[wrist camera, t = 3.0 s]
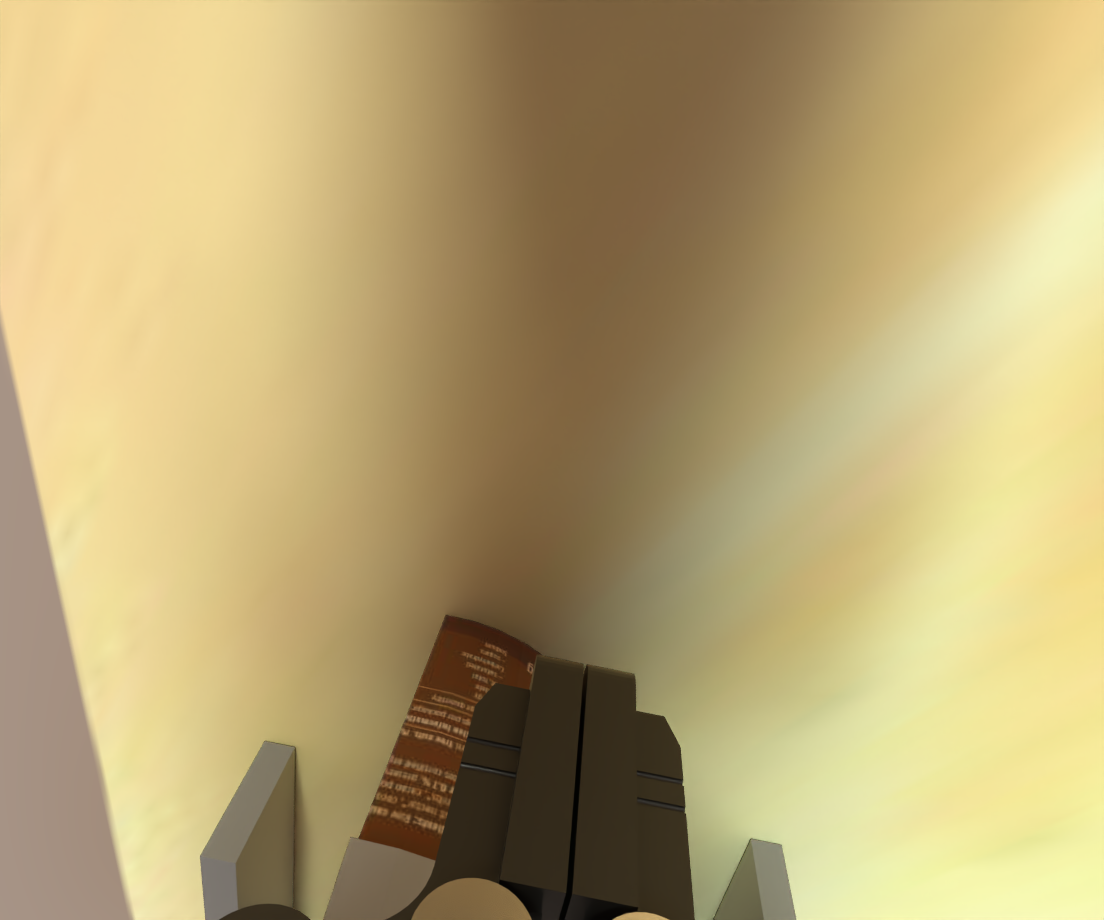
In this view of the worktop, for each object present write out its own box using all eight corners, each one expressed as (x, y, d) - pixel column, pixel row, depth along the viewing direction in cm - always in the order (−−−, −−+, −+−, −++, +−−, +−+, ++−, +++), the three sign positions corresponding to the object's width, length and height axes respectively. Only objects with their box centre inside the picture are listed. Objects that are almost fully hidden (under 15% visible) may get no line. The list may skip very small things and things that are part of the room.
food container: (596, 887, 26) (578, 1314, 17) (423, 856, 26) (313, 1262, 17) (672, 610, 20) (707, 1033, 11) (449, 571, 20) (304, 959, 11)
